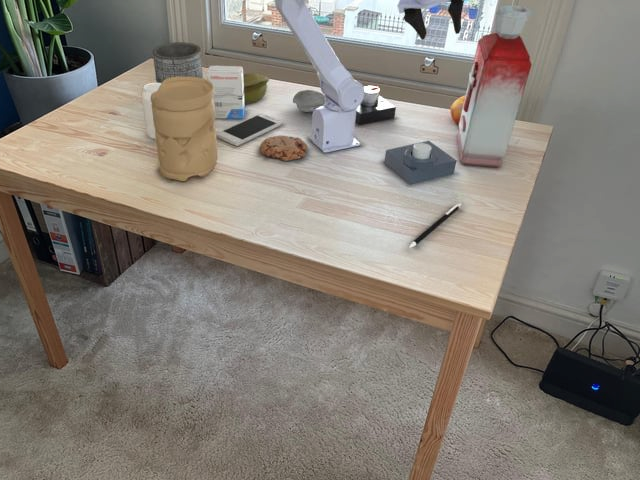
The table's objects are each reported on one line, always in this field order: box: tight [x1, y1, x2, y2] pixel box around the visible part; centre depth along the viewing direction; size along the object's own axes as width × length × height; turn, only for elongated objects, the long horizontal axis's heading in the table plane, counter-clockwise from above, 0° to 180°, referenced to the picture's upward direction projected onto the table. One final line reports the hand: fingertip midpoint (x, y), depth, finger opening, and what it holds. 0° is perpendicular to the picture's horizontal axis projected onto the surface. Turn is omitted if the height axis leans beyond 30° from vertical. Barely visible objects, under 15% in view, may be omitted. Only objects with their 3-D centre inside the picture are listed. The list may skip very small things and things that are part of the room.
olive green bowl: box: [243, 72, 270, 104], centre depth 151 cm, size 11×12×7 cm
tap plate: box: [355, 95, 397, 126], centre depth 144 cm, size 10×9×3 cm
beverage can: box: [141, 82, 162, 141], centre depth 133 cm, size 6×6×12 cm
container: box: [151, 76, 219, 182], centre depth 119 cm, size 13×13×18 cm
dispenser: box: [383, 140, 457, 185], centre depth 122 cm, size 11×11×5 cm
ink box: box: [205, 65, 246, 120], centre depth 142 cm, size 9×5×12 cm, turn 84°
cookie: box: [259, 135, 308, 162], centre depth 129 cm, size 10×11×3 cm
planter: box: [152, 41, 204, 83], centre depth 150 cm, size 12×12×13 cm
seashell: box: [292, 89, 325, 113], centre depth 145 cm, size 12×8×5 cm
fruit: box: [449, 94, 466, 126], centre depth 138 cm, size 8×8×8 cm
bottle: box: [456, 5, 533, 168], centre depth 119 cm, size 14×10×30 cm
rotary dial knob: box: [361, 85, 381, 107], centre depth 142 cm, size 4×4×4 cm
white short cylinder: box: [412, 142, 432, 159], centre depth 118 cm, size 4×4×2 cm
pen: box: [408, 203, 462, 249], centre depth 107 cm, size 1×19×1 cm, turn 137°
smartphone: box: [216, 113, 282, 147], centre depth 138 cm, size 7×15×1 cm, turn 136°
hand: (441, 33), depth 127 cm, fingers open, 7 cm apart
